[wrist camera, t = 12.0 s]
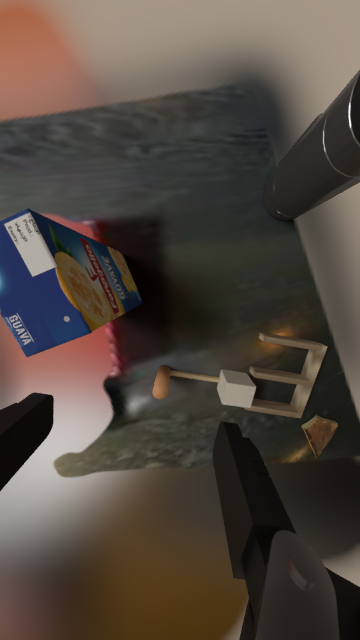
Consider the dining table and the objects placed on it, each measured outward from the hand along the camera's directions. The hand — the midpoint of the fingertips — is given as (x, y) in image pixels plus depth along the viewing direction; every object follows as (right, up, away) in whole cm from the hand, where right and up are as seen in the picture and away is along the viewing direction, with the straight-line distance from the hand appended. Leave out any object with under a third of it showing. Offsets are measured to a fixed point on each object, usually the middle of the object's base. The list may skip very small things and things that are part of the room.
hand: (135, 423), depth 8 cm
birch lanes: (+25, -7, +32) cm, 41 cm away
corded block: (+7, -8, +33) cm, 34 cm away
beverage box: (-11, +12, +28) cm, 33 cm away
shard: (+38, -23, +36) cm, 57 cm away
